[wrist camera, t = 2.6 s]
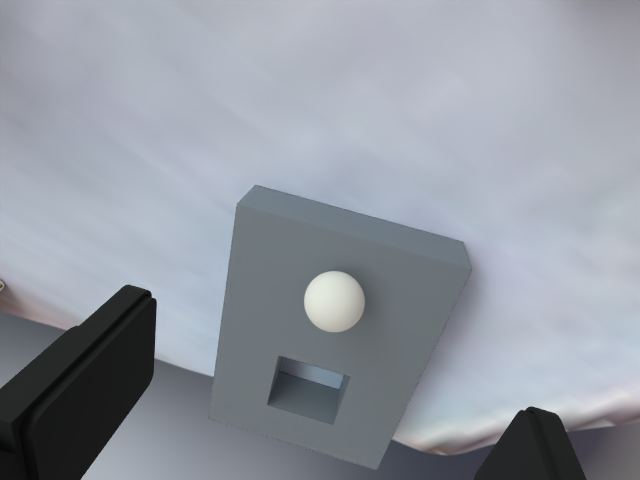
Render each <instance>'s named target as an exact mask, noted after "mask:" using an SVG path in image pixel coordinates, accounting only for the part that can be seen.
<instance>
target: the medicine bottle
mask: <svg viewBox="0 0 640 480" xmlns="http://www.w3.org/2000/svg"><path fill="white" fill-rule="evenodd" d="M3 287H4V283H3V282H2V281H0V291H1V290H2V289H3Z"/></svg>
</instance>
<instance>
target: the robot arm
mask: <svg viewBox="0 0 640 480" xmlns="http://www.w3.org/2000/svg"><path fill="white" fill-rule="evenodd" d="M156 306H157V302H156V299H155V298H152V295H151V292H150V291H148V290H145V289H142V288H139V287H135V286H132V285H125V286H124V287H122V288H121V289H120V290H119V291H118V292H117V293H116V294H115V295H113V296H112V297H111V298H110V299H109V300H108V301H107V302H106V303H104V304H103V305H102V306H101V307H100V308H99V309H98V310H97V311H95V312H94V313H93V314H92V315H91V316H90V317H89V318H88V319H86V320H85V321H84V322H83V323H82V324H81V325H80V326H75V327H72V328H70V329H69V330H68V331H66V332H65V333H64V334H63V335H62V336H60V337H59V338H58V339H57V340H56V341H55V342H53V343H52V344H51V345H50V346H49V347H48V348H47V349H45V350H44V351H43V352H42V353H41V354H40V355H39V356H37V357H36V359H34V360H33V361H32V362H30V363H29V364H28V365H27V366H26V367H25V368H24V369H22V370H21V371H20V372H19V373H18V374H17V375H16V376H15V377H13V378H12V379H11V380H10V381H9V382H8V383H6V384H5V385H4V386H3V387H2V388H1V389H0V480H81V478H82V476H83V475H84V474H85V473H86V471H87V470H88V469H89V467H90V466H91V464H92V463H93V462H94V460H95V459H96V458H97V456H98V455H99V453H100V452H101V451H102V449H103V448H104V447H105V445H106V444H107V442H108V441H109V440H110V438H111V437H112V435H113V434H114V433H115V431H116V430H117V429H118V427H119V425H121V423H122V422H123V420H124V419H125V418H126V416H127V415H128V414H129V412H130V410H131V409H132V408H133V407H134V405H135V404H136V402H137V401H138V400H139V398H140V397H141V396H142V394H143V393H144V391H145V390H146V389H147V387H148V386H149V384H150V382H151V380H152V377H153V373H154V352H155V329H156ZM474 480H586V477H585V475H584V473H583V470H582V468H581V466H580V464H579V461H578V459H577V456H576V454H575V452H574V449H573V447H572V445H571V442H570V440H569V438H568V436H567V433H566V431H565V428H564V426H563V424H562V421H561V419H560V418H559V416H558V415H557V414H555V413H552V412H549V411H545V410H542V409H539V408H535V407H528V408H527V409H526V410H525V411H524V410H520V411H519V412H518V413H517V415H516V416H515V417H514V419H513V420H512V422H511V423H510V425H509V426H508V428H507V429H506V431H505V432H504V433H503V435H502V436H501V438H500V439H499V441H498V442H497V444H496V445H495V447H494V448H493V449H492V451H491V453H490V454H489V455H488V457H487V458H486V460H485V461H484V463H483V464H482V466H481V467H480V468H479V470H478V471H477V473H476V475H475V478H474Z"/></svg>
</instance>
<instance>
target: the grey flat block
mask: <svg viewBox="0 0 640 480" xmlns="http://www.w3.org/2000/svg"><path fill="white" fill-rule="evenodd" d="M471 270H472V268H471V265H470V262H469V259H468V256H467V253H466V250H465V247H464V244H463V242H461V241H458V240H454V239H450V238H447V237H443V236H439V235H436V234H432V233H429V232H425V231H421V230H418V229H414V228H410V227H407V226H403V225H399V224H396V223H392V222H389V221H385V220H381V219H378V218H374V217H370V216H367V215H363V214H359V213H356V212H352V211H348V210H345V209H341V208H338V207H334V206H330V205H327V204H323V203H319V202H316V201H312V200H308V199H305V198H301V197H298V196H294V195H290V194H287V193H283V192H279V191H276V190H272V189H268V188H265V187H261V186H257V185H255V186H254V187H253V188H252V189H251V190H250V191H249V192H248V193H247V194H246V195H245V196H244V197H243V198H242V199H241V200H240V201H239V202H238V203H237V207H236V215H235V222H234V230H233V237H232V245H231V252H230V260H229V267H228V275H227V282H226V290H225V297H224V305H223V313H222V320H221V328H220V335H219V343H218V350H217V358H216V365H215V373H214V381H213V388H212V395H211V403H210V411H209V419H212V420H215V421H218V422H221V423H225V424H228V425H231V426H234V427H238V428H241V429H245V430H247V431H251V432H254V433H257V434H260V435H264V436H267V437H270V438H273V439H277V440H280V441H284V442H287V443H290V444H293V445H296V446H300V447H303V448H306V449H309V450H313V451H316V452H320V453H322V454H326V455H329V456H332V457H335V458H339V459H342V460H345V461H348V462H352V463H355V464H358V465H361V466H365V467H368V468H372V469H374V470H377V468H378V466H379V464H380V462H381V460H382V457H383V455H384V453H385V451H386V449H387V447H388V445H389V443H390V441H391V438H392V436H393V434H394V432H395V430H396V428H397V426H398V424H399V422H400V420H401V417H402V415H403V413H404V411H405V409H406V407H407V405H408V403H409V401H410V399H411V396H412V394H413V392H414V390H415V388H416V386H417V384H418V382H419V380H420V377H421V375H422V373H423V371H424V369H425V367H426V365H427V363H428V361H429V359H430V356H431V354H432V352H433V350H434V348H435V346H436V344H437V342H438V340H439V337H440V335H441V333H442V331H443V329H444V327H445V325H446V323H447V321H448V319H449V316H450V314H451V312H452V310H453V308H454V306H455V304H456V302H457V300H458V297H459V295H460V293H461V291H462V289H463V287H464V285H465V283H466V281H467V279H468V276H469V274H470V272H471ZM329 271H340V272H344V273H346V274H348V275H350V276H352V277H353V278H354V279H355V280H356V281H357V282H358V283H359V284H360V286H361V288H362V290H363V293H364V297H365V306H364V311H363V313H362V316H361V318H360V319H359V321H358V322H357V323H356V324H355V325H354V326H352V327H351V328H349V329H347V330H345V331H342V332H328V331H324V330H322V329H320V328H318V327H317V326H315V325H314V324H313V323H312V322H311V320H310V319H309V317H308V316H307V313H306V311H305V306H304V297H305V292H306V290H307V288H308V286H309V284H310V283H311V282H312V280H313V279H314V278H316V277H317V276H318V275H320V274H322V273H325V272H329ZM282 357H286V358H289V359H293V360H296V361H299V362H303V363H306V364H309V365H313V366H316V367H320V368H323V369H326V370H330V371H333V372H336V373H340V374H343V375H344V377H343V380H342V383H341V386H340V389H339V390H338V389H335V388H331V387H328V386H324V385H321V384H318V383H314V382H311V381H308V380H304V379H301V378H298V377H294V376H291V375H288V374H284V373H281V372H279V369H280V365H281V360H282Z"/></svg>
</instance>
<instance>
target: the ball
mask: <svg viewBox="0 0 640 480" xmlns="http://www.w3.org/2000/svg"><path fill="white" fill-rule="evenodd" d="M304 306H305V311H306V313H307V316H308V317H309V319H310V320H311V322H312V323H313V324H314V325H315V326H317V327H318V328H320V329H322V330H324V331H328V332H342V331H345V330H347V329H349V328H351V327H352V326H354V325H355V324H356V323H357V322H358V321H359V319H360V318H361V316H362V313H363V311H364V306H365V297H364V293H363V290H362V288H361V286H360V284H359V283H358V282H357V281H356V280H355V279H354V278H353V277H352V276H350V275H348V274H346V273H344V272H340V271H329V272H325V273H322V274H320V275H318V276H317V277H316V278H314V279H313V280H312V282H311V283H310V284H309V286H308V288H307V290H306V292H305V297H304Z"/></svg>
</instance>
